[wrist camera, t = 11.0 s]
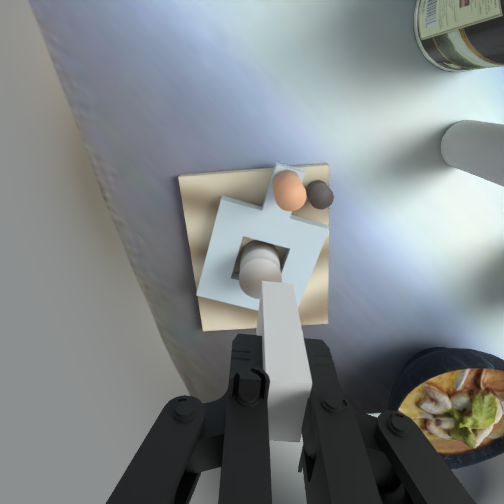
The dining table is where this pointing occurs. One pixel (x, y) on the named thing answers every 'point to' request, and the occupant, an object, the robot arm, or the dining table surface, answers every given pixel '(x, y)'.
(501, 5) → the coffee can
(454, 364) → the bowl
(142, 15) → the dining table surface
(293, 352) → the robot arm
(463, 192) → the dining table surface
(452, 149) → the beverage can
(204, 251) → the post base
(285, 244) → the flange plate
